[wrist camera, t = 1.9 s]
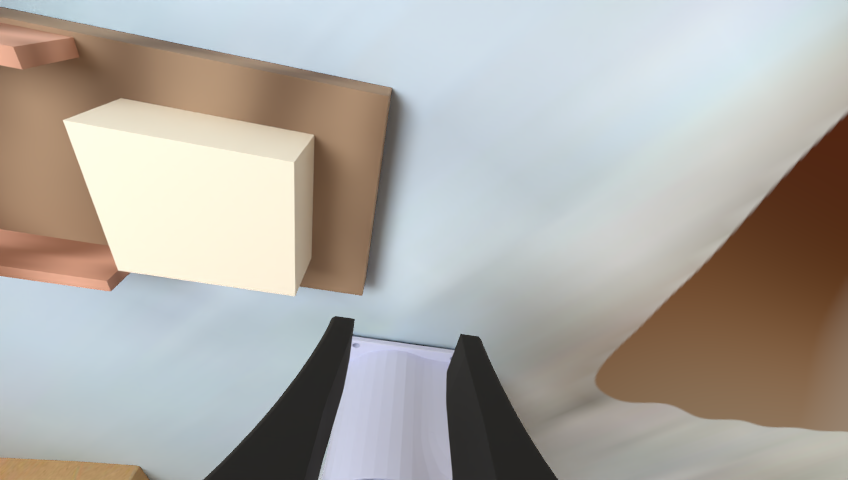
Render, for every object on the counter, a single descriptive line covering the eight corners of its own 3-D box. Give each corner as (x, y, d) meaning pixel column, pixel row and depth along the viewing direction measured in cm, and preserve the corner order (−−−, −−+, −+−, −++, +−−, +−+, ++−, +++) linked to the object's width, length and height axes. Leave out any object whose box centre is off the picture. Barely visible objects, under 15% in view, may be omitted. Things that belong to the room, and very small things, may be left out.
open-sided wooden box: (392, 88, 16) (382, 114, 13) (365, 278, 23) (355, 328, 20) (-171, -29, 14) (-349, -32, 11) (-24, 219, 21) (-109, 263, 18)
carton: (314, 134, 16) (294, 162, 14) (311, 258, 20) (295, 296, 18) (121, 98, 15) (62, 120, 13) (157, 233, 19) (118, 270, 17)
